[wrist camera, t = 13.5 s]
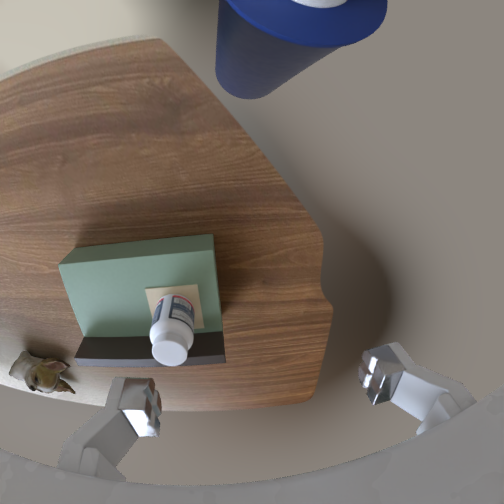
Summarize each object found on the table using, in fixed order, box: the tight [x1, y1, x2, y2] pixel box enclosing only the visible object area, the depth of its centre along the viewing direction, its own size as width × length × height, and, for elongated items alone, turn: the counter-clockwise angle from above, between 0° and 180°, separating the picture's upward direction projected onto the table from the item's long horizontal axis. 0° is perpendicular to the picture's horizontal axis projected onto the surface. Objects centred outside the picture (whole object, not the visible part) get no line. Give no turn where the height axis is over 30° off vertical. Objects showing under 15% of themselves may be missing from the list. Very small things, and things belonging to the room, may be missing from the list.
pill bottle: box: [150, 294, 195, 366], centre depth 33 cm, size 5×5×9 cm
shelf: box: [58, 234, 226, 367], centre depth 37 cm, size 14×22×11 cm, turn 92°
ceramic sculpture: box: [9, 351, 75, 394], centre depth 42 cm, size 11×9×15 cm
